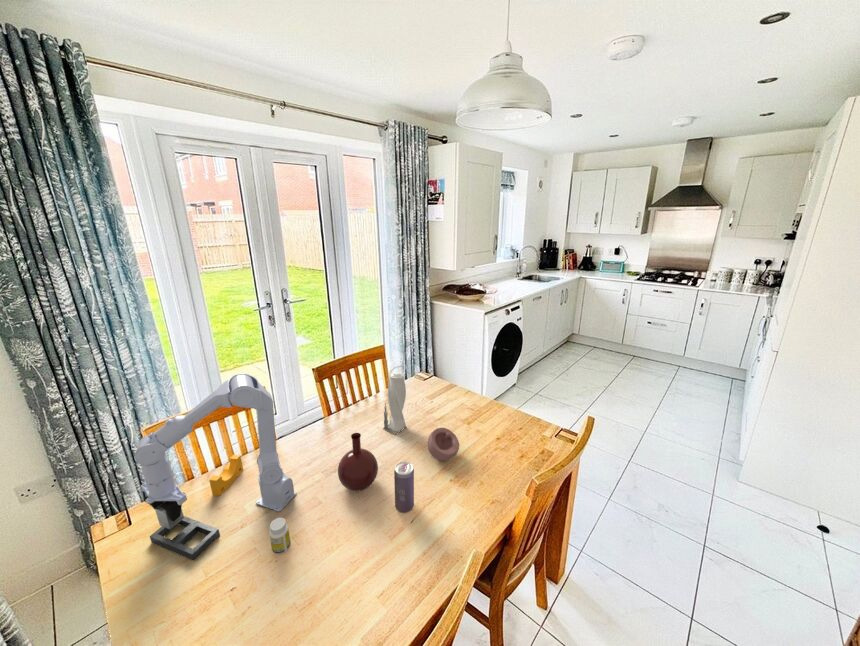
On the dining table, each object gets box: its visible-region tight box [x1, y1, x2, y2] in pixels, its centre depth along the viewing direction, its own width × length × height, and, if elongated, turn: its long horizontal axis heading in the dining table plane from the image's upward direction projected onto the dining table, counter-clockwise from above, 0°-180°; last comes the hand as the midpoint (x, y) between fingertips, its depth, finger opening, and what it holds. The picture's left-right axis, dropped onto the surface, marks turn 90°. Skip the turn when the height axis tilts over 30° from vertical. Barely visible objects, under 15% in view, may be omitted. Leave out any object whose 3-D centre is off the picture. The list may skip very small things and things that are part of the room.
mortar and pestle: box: [426, 427, 460, 462], centre depth 129 cm, size 12×12×11 cm
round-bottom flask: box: [337, 432, 379, 492], centre depth 114 cm, size 13×13×20 cm
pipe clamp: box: [208, 454, 244, 497], centre depth 117 cm, size 12×4×6 cm, turn 173°
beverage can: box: [393, 461, 415, 514], centre depth 107 cm, size 6×6×15 cm
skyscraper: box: [382, 365, 407, 436], centre depth 144 cm, size 8×8×28 cm
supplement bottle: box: [269, 517, 292, 555], centre depth 94 cm, size 5×5×8 cm
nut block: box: [154, 501, 185, 529], centre depth 96 cm, size 4×4×6 cm
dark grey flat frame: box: [149, 515, 221, 562], centre depth 97 cm, size 16×8×2 cm, turn 71°
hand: (170, 516), depth 96 cm, fingers closed on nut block, 4 cm apart
